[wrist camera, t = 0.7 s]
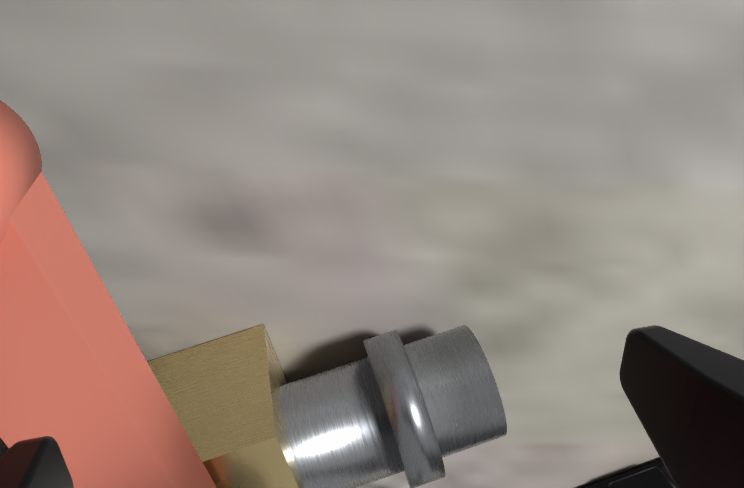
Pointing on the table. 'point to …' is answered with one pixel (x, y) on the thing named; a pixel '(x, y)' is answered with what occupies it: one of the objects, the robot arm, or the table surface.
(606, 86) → the table surface
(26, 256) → the lever
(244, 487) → the pipe valve
